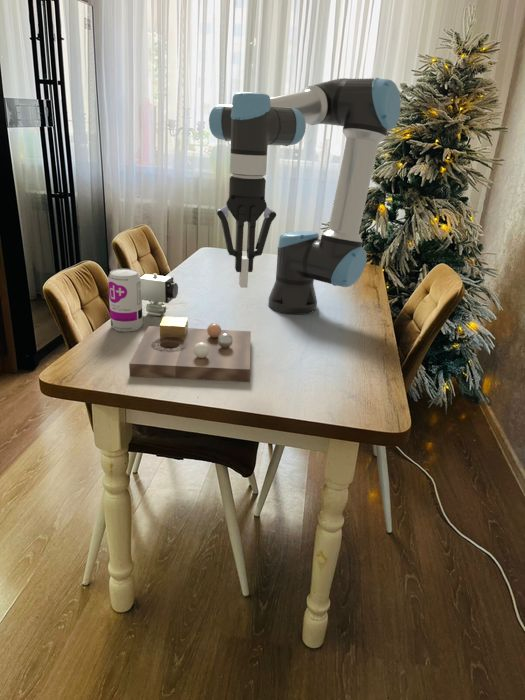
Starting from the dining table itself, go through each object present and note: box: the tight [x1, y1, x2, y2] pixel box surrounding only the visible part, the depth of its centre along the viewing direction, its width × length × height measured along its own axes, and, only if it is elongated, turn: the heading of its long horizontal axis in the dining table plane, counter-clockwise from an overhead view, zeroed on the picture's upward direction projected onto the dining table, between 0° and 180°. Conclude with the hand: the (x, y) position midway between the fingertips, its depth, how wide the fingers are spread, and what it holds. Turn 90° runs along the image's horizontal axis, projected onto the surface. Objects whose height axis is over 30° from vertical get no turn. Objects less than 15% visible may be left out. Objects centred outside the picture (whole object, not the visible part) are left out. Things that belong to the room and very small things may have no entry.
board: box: [128, 325, 252, 383], centre depth 120 cm, size 26×22×3 cm
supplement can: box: [107, 268, 144, 333], centre depth 132 cm, size 8×8×15 cm
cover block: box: [159, 316, 189, 338], centre depth 125 cm, size 6×6×3 cm
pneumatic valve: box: [140, 273, 179, 318], centre depth 143 cm, size 6×12×12 cm, turn 78°
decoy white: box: [194, 342, 209, 358], centre depth 113 cm, size 4×4×4 cm
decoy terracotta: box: [206, 323, 222, 338], centre depth 124 cm, size 4×4×4 cm
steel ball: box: [218, 333, 233, 348], centre depth 119 cm, size 4×4×4 cm
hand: (243, 285), depth 115 cm, fingers closed
